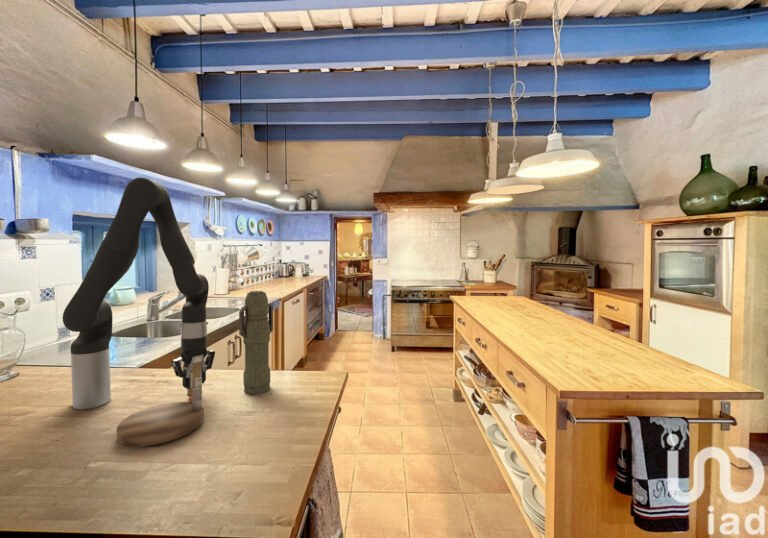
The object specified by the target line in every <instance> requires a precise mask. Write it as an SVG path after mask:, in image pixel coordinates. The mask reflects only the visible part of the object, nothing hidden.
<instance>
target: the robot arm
mask: <svg viewBox="0 0 768 538" xmlns="http://www.w3.org/2000/svg"><path fill="white" fill-rule="evenodd" d="M148 213H149V214H150V215H151V217H152V218H153V220H154V222H155V224H156V228H157V230H158V235H159V242H160V246H161V249H162V251H163V254H164V255H165V256H164V257H165V258H166V259H167V262H168V263H169V265H170V267H171V270H172V275H173V278H174V282H175V285H176V287H177V289H178V291H179V292H180V294H182V295H183V296H185V303H184V304H183V305H182V308H181V327H180V349H181V350H180V351H181V354H180V357H178V358H176V359H172V360H171V366H172V369H173V371H174V373H175V376H176V377H179V378H181V379H182V387H183V388H184V389H186V390H187V389H188V388H190V377H189V376H190V372H191V370H192V369H193V365H194V363H193V362H194V361H195V356H201V359H202V361H201V365H202V385H203V384H205V383H206V379H207V371H208V370H211V369H212V367H213V363H214V360H215V355H216V351H215V350H212V349H211V350H210V349H209V350H208V349H207V348H208V326H207V325H208V324H207V309H206V307H207V303H208V297H209V290H210V288H209V287H210V286H209V281H208V278H207V277H206V276H205V275H203V274H200V273H197V271H196V269H195V266H194V265H195V263H196V262H195V258H194V255H193V253H192V251H191V249H190V247H189V245H188V243H187V241H186V240H185V237H184V235H183V233H182V230H181V228H180V226H179V223H178V220H177V218H176V214H175V211H174V209H173V204H172V201H171V198H170V194H169V192H168V190H167V188H166V187H165V185H163V184H162V183H160V182H158V181H155V180H153V179H150V178H147V177H135V178H134V179H131V180H130V181H129V182H128V183H127V185H126V187H125V189H124V191H123V194H122V196H121V199H120V203H119V205H118V209H117V212H116V214H115V215H114V216H115V217H114V219H112V222H111V224H110V226H109V228H108V230H107V232H106V235H105V236H104V238H103V240H102V241H101V244H100V245H99V247H98V249H97V251H96V254H95V256H94V258H93V260H92V262H91V265H90V266H89V268H88V270H87V272H86V273H85V276H84V278H83V280H82V282H81V283H80V286H79V287H78V288H77V290H76V292H75V293H74V294H73V296H72V298H71V299H70V301H69V302H68V304H67V305H66V307H65V309H64V310H63V313H62V323H63V325H64V327H65V328H66V329H67V330H68V331H70V332H73V333H74V332H75V333H79V334H78V336H77V337H76V339H75V340H74V341H72V343H70V365H71V367H70V368H71V392H72V393H71V395H72V397H71V398H72V409H74V410H79V411H80V410H81V411H82V410H89V409H94V408H98V407H100V406H103V405H106V404H107V403H109V402H110V401H111V400H112V399H111V397H112V396H111V395H112V393H111V391H112V390H111V387H112V386H111V363H110V362H111V359H110V342H111V340H112V336H113V311H112V308H111V305H110V304H109V302H108V301H106V300H105V298H106V296H107V294H108V293H109V291H110V290H111V289H112V288H114V286H115V285H116V284H117V283H118V282H119V281H120V280H121V279H122V278H123V277H124V276H125V275H126V274H127V272H128V271H129V270H130V268H131V267H132V264H133V263H134V260H135V259H136V256H137V254H138V252H139V250H140V249H139V248H140V242H141V241H140V239H141V238H140V237H141V236H140V235H141V227H142V224H143V223H144V221H145V218H146V216H147V215H148ZM182 362H183V364H182ZM187 366H189V367H187Z"/></svg>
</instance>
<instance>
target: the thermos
mask: <svg viewBox="0 0 768 538" xmlns="http://www.w3.org/2000/svg"><path fill="white" fill-rule="evenodd" d="M238 316H239V317H238V323H239V324H238V325H239V326H238V328H239V330H238V331H239V333H238V334H239V336H241V337H242V338H243V341H242V342H243V345H244V371H243V375H242V376H243V377H242V379H243V392H245V393H246V395H248V394H249V395H250V396H258V395H257V394H259V395H262V394H261V393H263V394H265V393H267V392H269V391H270V390H271V389H270V388H271V385H270V384H271V368H270V365H269V364H270V363H269V360H270V359H269V352H270V351H269V348H270V347H269V346H270V345H269V344H270V342H271V334H272V333H273V331H274V307H273V305H272V303H269V299H268V296H267V293H266V292H265V291H262V290H252V291H249V292H248V293H247V294H246V296H245V299H244V306H241V308H240V309H239V311H238ZM269 389H270V390H269ZM245 393H244V394H245ZM249 395H248V396H249Z"/></svg>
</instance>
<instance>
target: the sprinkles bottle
mask: <svg viewBox="0 0 768 538" xmlns="http://www.w3.org/2000/svg"><path fill="white" fill-rule="evenodd" d="M201 361H202V359H201V356H195V361H194V362H193V363H194V365H193V369H192V370H191V372H190V376H189V377H190V388H188V389H186V390H187V394H186V396H187V397H188V398H190V397H192V389H193V388H197V387H201V388H202V387H203V384H202V365H201ZM187 367H189V366H187ZM202 389H203V388H202Z"/></svg>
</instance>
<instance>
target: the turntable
mask: <svg viewBox="0 0 768 538" xmlns="http://www.w3.org/2000/svg"><path fill="white" fill-rule="evenodd" d="M202 394H203V388H201V387H197V388H193V389H192V402H189V401H175V402H166V403H162V404H161V403H160V404H157V405H153V406H150V407H146V408H144V409H141V410H139V411H136V412H134V413H132V414H131V415H129V416H126V418H124V419H123V420H121V421H120V422H119V424H118V425H117V427H116V440H117V441H118V442H119V443H120V444H122V445H125V446H129V447H130V446H131V447H146V446H154V445H159V444H163V443H167V442H171V441H173V440H176V439H178V438H181V437H183V436H185V435H188V434H190V433H191V432H193V431H195V430H196V429H197V428H199V426H201V424H202V423H203V422H204V419H205V409H204V407H203V395H202Z"/></svg>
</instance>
